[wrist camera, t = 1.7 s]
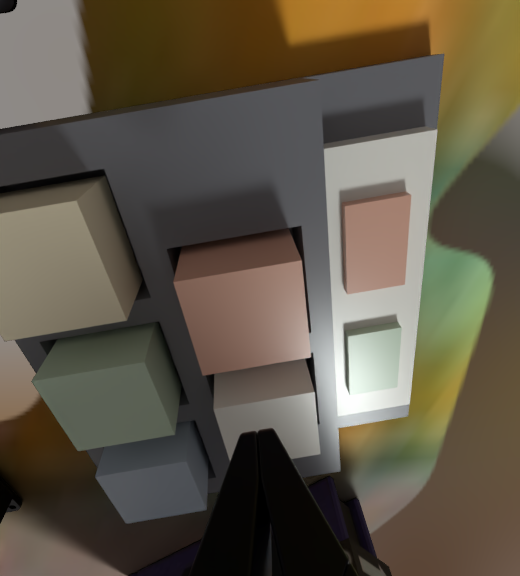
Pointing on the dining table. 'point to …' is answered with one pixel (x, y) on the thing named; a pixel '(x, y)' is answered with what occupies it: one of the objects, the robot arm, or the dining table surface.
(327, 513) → the book
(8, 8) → the calculator
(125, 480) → the key slate
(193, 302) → the key terracotta
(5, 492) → the robot arm
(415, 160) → the keypad console
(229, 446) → the light grey key
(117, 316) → the key sand
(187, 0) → the dining table surface
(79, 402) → the key sage
